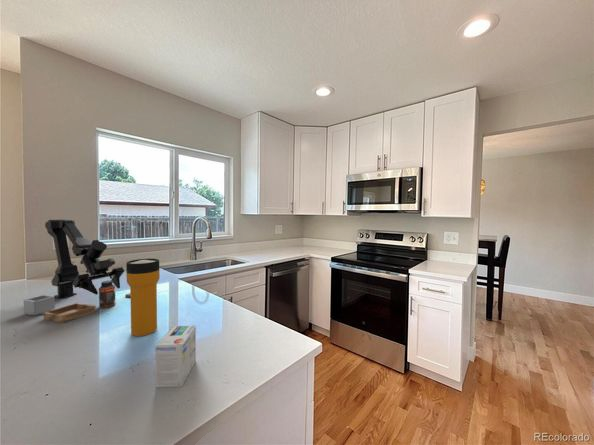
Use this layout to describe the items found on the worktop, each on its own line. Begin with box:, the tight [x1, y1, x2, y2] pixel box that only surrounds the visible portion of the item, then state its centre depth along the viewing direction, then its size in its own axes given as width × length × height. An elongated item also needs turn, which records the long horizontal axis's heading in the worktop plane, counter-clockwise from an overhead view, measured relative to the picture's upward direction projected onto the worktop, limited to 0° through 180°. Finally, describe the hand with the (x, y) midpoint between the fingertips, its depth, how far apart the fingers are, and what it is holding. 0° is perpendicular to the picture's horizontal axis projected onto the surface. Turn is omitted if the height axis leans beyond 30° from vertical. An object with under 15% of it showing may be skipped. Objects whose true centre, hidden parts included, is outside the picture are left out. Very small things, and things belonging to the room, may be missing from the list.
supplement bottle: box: [98, 280, 117, 309], centre depth 112 cm, size 6×6×11 cm
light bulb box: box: [154, 325, 197, 388], centre depth 66 cm, size 11×7×11 cm, turn 5°
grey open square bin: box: [23, 294, 56, 316], centre depth 105 cm, size 7×7×6 cm
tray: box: [43, 302, 96, 324], centre depth 102 cm, size 12×12×2 cm
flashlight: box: [125, 258, 160, 337], centre depth 89 cm, size 10×26×10 cm
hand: (108, 290), depth 112 cm, fingers open, 9 cm apart
